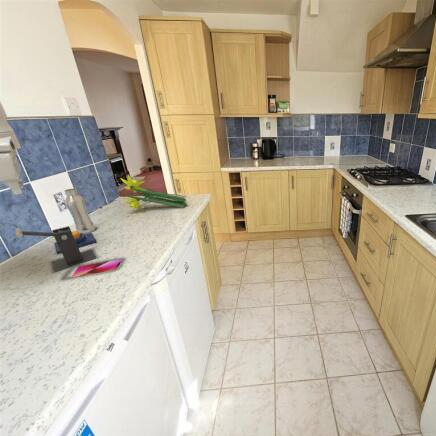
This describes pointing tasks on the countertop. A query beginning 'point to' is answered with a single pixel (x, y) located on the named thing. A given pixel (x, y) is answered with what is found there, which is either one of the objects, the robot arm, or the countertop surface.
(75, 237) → the boil button
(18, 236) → the switch lever
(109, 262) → the smartphone
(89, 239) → the boil block
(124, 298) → the countertop surface
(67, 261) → the black stand
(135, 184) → the daffodil flowers
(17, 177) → the robot arm
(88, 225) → the plastic bottle
